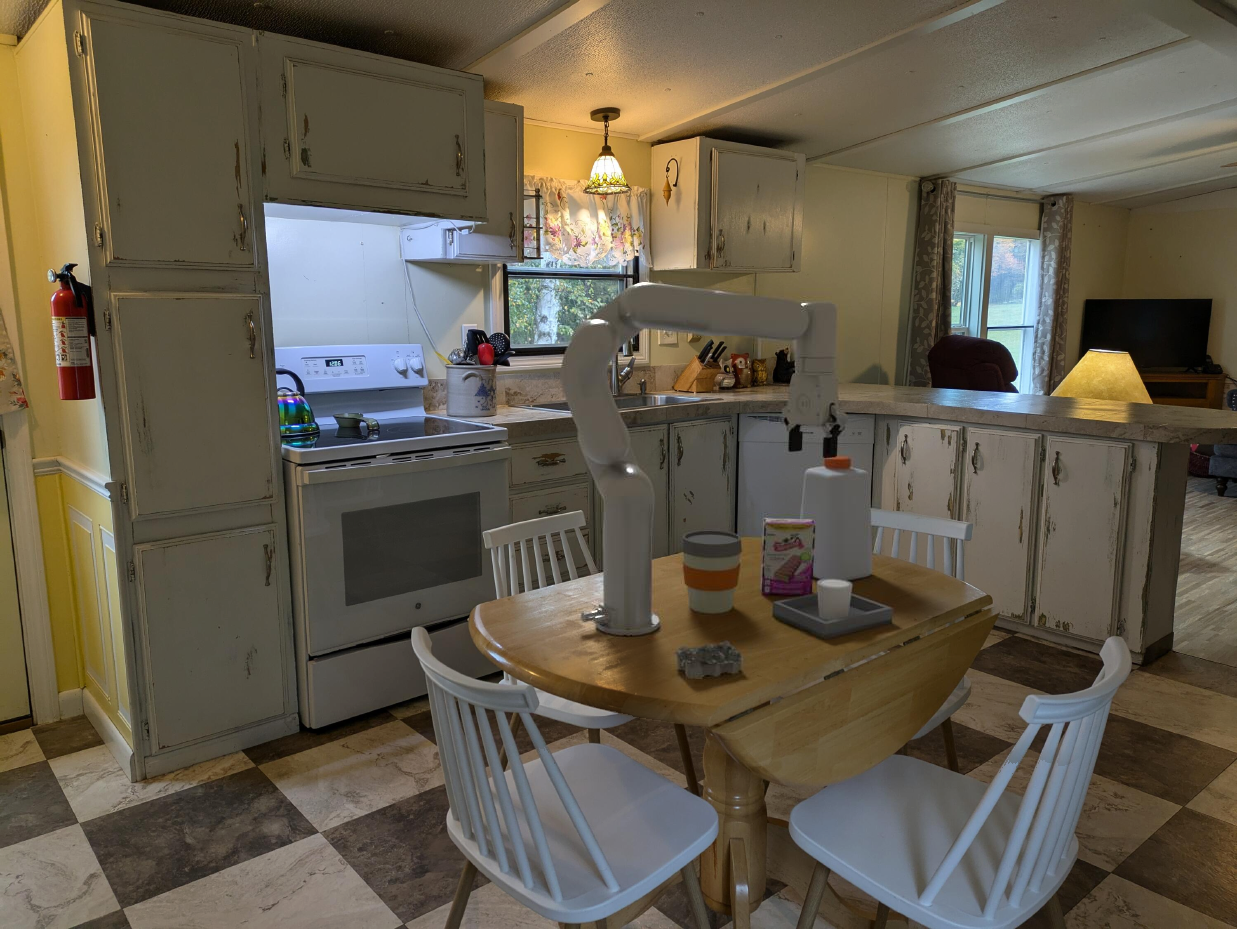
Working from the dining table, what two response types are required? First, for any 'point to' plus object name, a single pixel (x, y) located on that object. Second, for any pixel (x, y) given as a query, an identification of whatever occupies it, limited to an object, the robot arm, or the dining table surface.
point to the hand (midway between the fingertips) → (812, 454)
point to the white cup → (833, 598)
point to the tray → (807, 618)
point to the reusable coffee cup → (711, 569)
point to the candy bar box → (787, 556)
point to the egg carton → (708, 660)
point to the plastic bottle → (839, 519)
